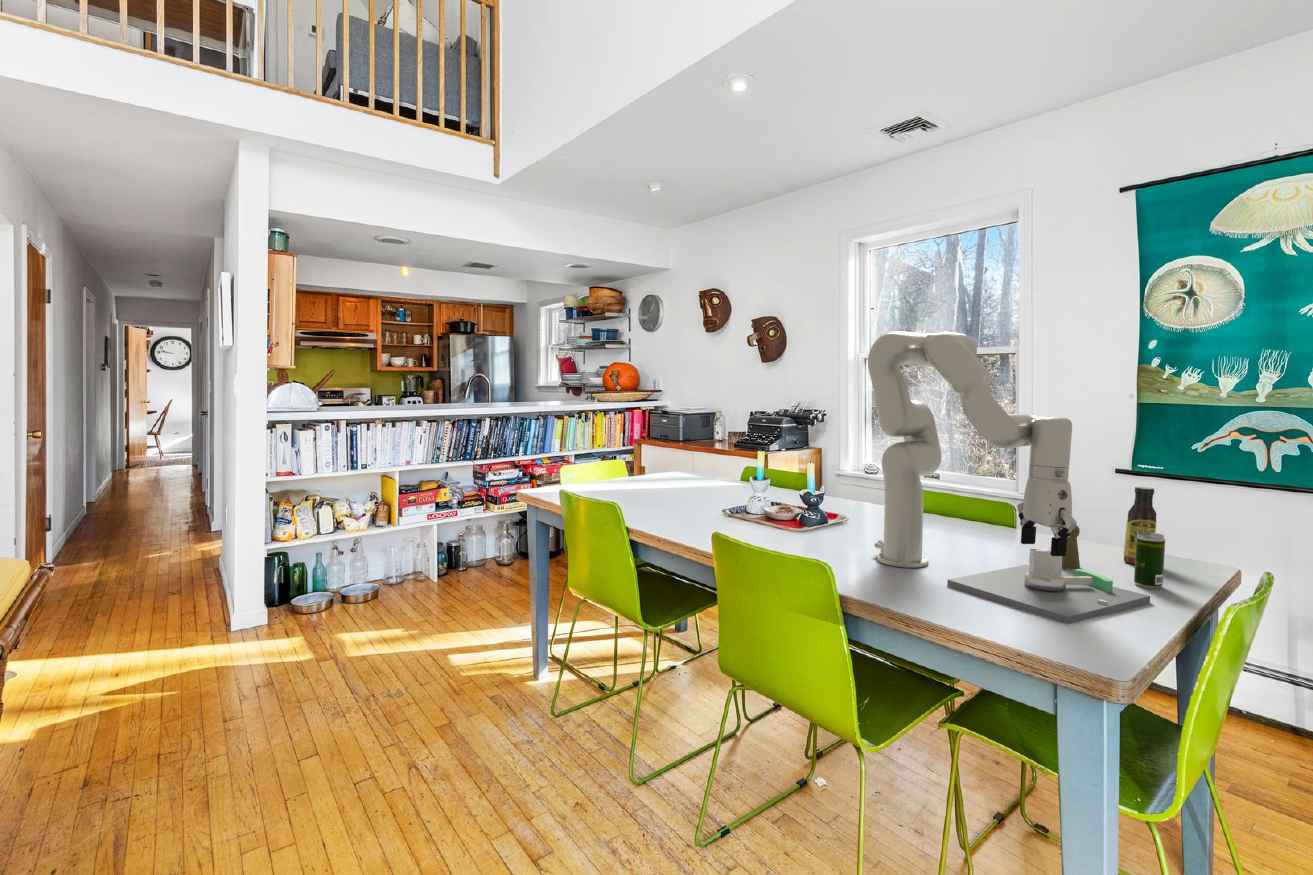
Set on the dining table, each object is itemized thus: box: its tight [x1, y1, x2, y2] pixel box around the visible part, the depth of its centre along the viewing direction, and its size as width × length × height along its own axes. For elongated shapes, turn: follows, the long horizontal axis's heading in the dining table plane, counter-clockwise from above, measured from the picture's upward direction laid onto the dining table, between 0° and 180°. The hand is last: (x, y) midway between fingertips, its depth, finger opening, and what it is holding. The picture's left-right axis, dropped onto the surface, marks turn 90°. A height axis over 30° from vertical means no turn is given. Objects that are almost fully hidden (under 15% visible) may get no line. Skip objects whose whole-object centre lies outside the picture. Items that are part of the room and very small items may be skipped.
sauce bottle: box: [1123, 486, 1157, 565], centre depth 172 cm, size 7×6×20 cm
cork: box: [1057, 524, 1081, 570], centre depth 170 cm, size 6×6×11 cm
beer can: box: [1133, 532, 1166, 590], centre depth 153 cm, size 5×5×12 cm
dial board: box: [946, 564, 1151, 625], centre depth 147 cm, size 28×28×4 cm
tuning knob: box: [1024, 548, 1093, 591], centre depth 147 cm, size 14×8×8 cm, turn 88°
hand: (1042, 549), depth 147 cm, fingers open, 9 cm apart
